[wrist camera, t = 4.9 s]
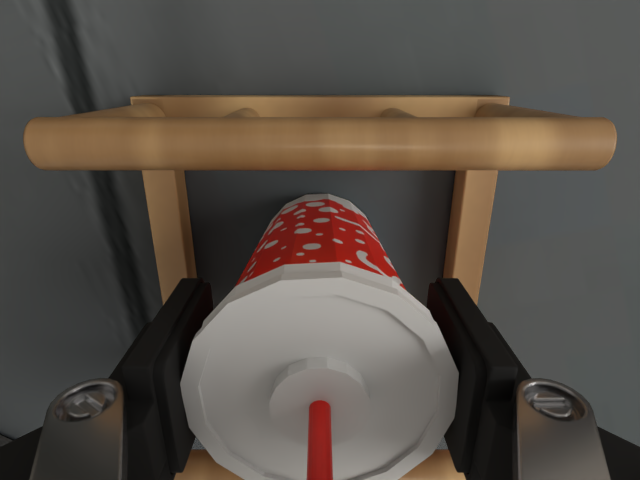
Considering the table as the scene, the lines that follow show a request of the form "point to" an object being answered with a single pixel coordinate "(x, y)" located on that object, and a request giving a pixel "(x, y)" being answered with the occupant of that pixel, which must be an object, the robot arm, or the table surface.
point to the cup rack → (319, 166)
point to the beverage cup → (319, 358)
